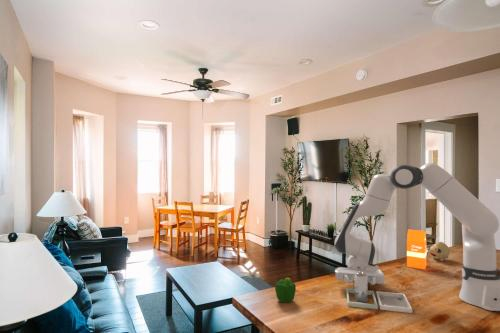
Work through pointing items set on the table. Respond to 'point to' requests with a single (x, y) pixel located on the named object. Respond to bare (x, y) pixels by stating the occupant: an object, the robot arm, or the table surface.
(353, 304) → the bin
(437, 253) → the toy pig
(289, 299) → the bell pepper
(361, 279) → the chrome tube with bumps
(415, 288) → the table surface
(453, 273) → the table surface
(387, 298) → the bin
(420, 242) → the orange juice
